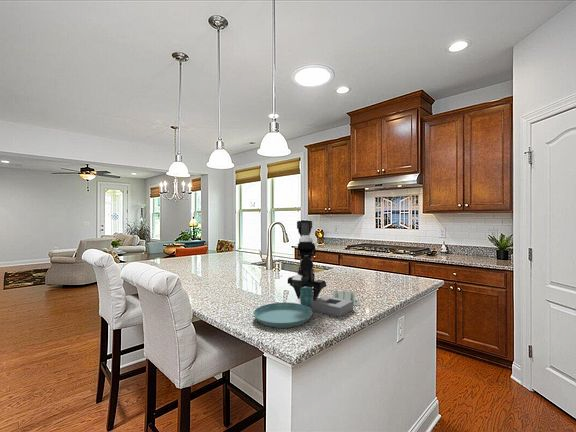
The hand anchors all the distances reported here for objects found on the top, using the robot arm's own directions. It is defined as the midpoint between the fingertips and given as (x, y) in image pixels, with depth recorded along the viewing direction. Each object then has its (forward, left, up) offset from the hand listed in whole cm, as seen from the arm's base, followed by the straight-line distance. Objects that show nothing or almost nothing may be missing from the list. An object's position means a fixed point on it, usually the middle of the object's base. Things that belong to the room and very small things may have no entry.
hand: (306, 300), depth 141 cm
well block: (+14, 0, -2) cm, 14 cm away
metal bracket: (+12, +15, -3) cm, 19 cm away
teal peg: (0, 0, -2) cm, 2 cm away
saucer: (+3, -21, -2) cm, 21 cm away
